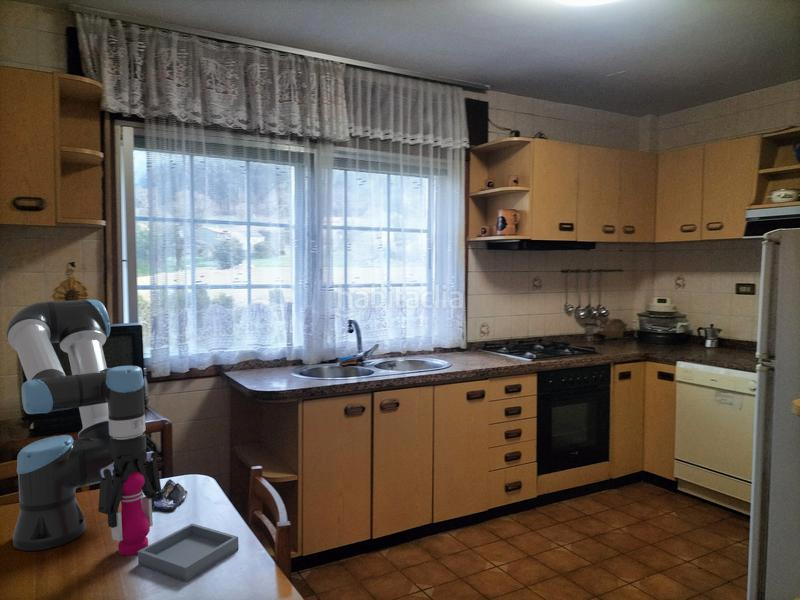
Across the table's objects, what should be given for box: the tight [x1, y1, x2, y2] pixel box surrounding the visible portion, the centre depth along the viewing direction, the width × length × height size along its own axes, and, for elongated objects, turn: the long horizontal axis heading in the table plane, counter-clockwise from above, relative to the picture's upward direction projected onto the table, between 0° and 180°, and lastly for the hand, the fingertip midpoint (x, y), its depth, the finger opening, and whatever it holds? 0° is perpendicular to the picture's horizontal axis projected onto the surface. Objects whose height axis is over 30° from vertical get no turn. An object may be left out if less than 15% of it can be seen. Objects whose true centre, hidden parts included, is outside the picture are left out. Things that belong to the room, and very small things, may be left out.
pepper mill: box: [117, 472, 150, 557], centre depth 133 cm, size 7×7×20 cm
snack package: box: [154, 479, 188, 512], centre depth 159 cm, size 12×6×12 cm
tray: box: [137, 523, 240, 583], centre depth 130 cm, size 15×15×3 cm
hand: (132, 531), depth 133 cm, fingers closed on pepper mill, 7 cm apart
